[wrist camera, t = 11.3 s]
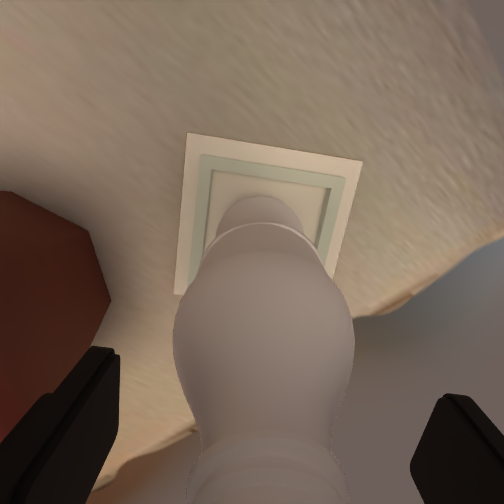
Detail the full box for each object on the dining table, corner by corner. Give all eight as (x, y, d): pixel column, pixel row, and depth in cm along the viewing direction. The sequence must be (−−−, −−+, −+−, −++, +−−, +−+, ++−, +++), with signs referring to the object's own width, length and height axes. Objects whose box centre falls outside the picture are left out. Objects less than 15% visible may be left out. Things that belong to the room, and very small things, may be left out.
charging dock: (189, 132, 27) (183, 131, 25) (359, 161, 28) (369, 162, 25) (175, 289, 32) (169, 301, 29) (321, 310, 32) (326, 323, 30)
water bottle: (262, 281, 30) (282, 785, 6) (204, 234, 29) (-50, 653, 5) (315, 227, 28) (619, 647, 5) (256, 173, 27) (249, 377, 3)
